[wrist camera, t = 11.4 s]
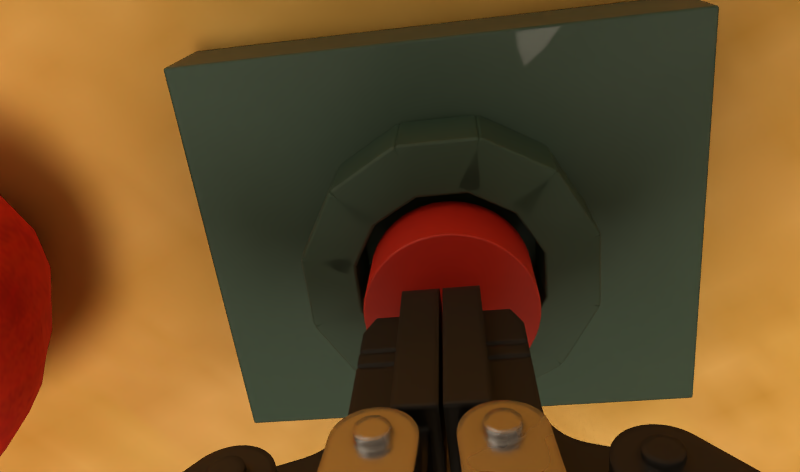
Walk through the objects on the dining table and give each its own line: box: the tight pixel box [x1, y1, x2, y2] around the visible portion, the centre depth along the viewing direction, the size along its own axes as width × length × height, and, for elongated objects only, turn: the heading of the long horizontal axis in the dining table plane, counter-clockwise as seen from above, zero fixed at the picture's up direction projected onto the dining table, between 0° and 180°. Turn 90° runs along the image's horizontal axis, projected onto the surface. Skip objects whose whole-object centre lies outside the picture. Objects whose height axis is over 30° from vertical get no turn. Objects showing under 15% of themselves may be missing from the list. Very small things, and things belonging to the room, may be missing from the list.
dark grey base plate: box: [164, 0, 719, 423], centre depth 17 cm, size 12×10×4 cm
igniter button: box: [363, 201, 541, 348], centre depth 15 cm, size 4×4×2 cm
